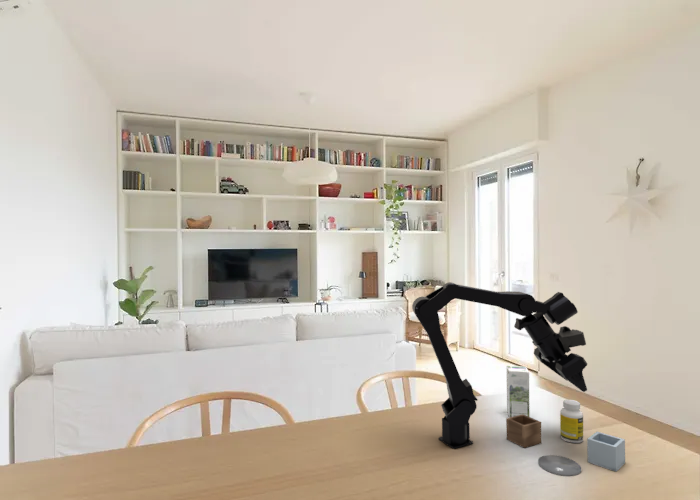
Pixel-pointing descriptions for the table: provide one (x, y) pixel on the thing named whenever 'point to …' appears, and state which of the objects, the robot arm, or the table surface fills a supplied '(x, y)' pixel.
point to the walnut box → (523, 430)
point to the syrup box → (517, 391)
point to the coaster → (559, 465)
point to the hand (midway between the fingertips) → (576, 385)
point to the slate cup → (606, 451)
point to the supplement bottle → (571, 422)
